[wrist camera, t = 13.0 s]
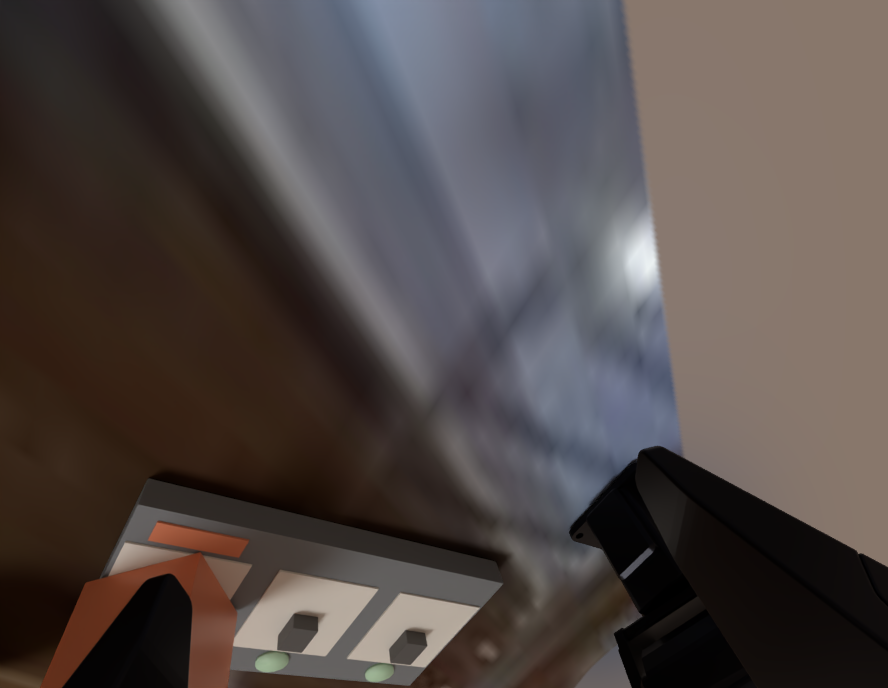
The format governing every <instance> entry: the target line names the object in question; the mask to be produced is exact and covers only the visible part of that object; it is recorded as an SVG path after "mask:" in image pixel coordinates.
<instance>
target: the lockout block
mask: <svg viewBox="0 0 888 688" xmlns="http://www.w3.org/2000/svg"><path fill="white" fill-rule="evenodd" d="M167 573H171V574H173V575H174V576H175V577H176V578H177V579H178V581H179V582H180V584H181V585H182V587H183V588H184V590H185V591H186V592H187V594H188V595H189V597H190V599H191V602H192V608H193V613H192V630H191V647H190V664H189V681H188V688H227V687H228V680H229V673H230V665H231V658H232V651H233V643H234V636H235V628H236V621H237V614H238V613H237V611H236V610H235V608H234V606H233V605H232V603H231V601H230V600H229V598H228V596H227V595H226V593H225V592H224V590H223V588H222V587H221V585H220V583H219V582H218V580H217V578H216V577H215V575H214V573H213V572H212V570H211V569H210V567H209V565H208V564H207V562H206V560H205V559H204V557H203V555H202V554H201V552H199V553H195V554H192V555H188V556H184V557H180V558H177V559H173V560H169V561H165V562H161V563H158V564H154V565H150V566H146V567H143V568H139V569H135V570H131V571H128V572H124V573H120V574H116V575H112V576H109V577H105V578H101V579H97V580H94V581H90V582H86V583H85V585H84V587H83V590H82V592H81V594H80V596H79V599H78V601H77V603H76V606H75V608H74V610H73V613H72V615H71V617H70V620H69V622H68V624H67V627H66V629H65V631H64V633H63V636H62V638H61V640H60V643H59V645H58V647H57V650H56V652H55V654H54V657H53V659H52V661H51V664H50V666H49V668H48V670H47V673H46V675H45V677H44V680H43V682H42V684H41V687H40V688H62V687H63V685H64V684H65V683H66V681H67V680H68V679H69V678H70V676H71V675H72V674H73V672H74V671H75V670H76V669H77V667H78V666H79V665H80V663H81V662H82V661H83V660H84V658H85V657H86V656H87V654H88V653H89V652H90V651H91V649H92V648H93V647H94V645H95V644H96V643H97V642H98V640H99V639H100V638H101V636H102V635H103V634H104V633H105V631H106V630H107V629H108V627H109V626H110V625H111V624H112V622H113V621H114V620H115V618H116V617H117V616H118V615H119V613H120V612H121V611H122V609H123V608H124V607H125V606H126V604H127V603H128V602H129V600H130V599H131V598H132V597H133V595H134V594H135V593H136V591H137V590H138V589H139V588H140V586H141V585H142V584H143V583H144V582H145V581H146V580H147V579H149V578H152V577H156V576H160V575H163V574H167Z"/></svg>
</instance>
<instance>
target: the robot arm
mask: <svg viewBox="0 0 888 688" xmlns="http://www.w3.org/2000/svg"><path fill="white" fill-rule="evenodd" d="M569 534H570V536H571V538H572V540H573V541H576V542H579V543H583V544H586V545H589V546H593V547H596V548H600V549H602V550H603V551H604V553H605V555H606V557H607V559H608V560H609V562H610V564H611V566H612V567H613V569H614V571H615V573H616V574H617V576H618V578H619V579H620V580H621V582H622V583H623V585H624V587H625V589H626V590H627V592H628V594H629V596H630V597H631V599H632V601H633V603H634V604H635V606H636V608H637V610H638V611H639V613H640V614H642V616H643V617H641V618H640V619H638V620H637V621H635V622H634V623H632V624H631V625H629V626H628V627H626V628H625V629H624V628H621V629H620V630H618V631H617V632H615V633H614V636H615V638H616V641H617V644H618V647H619V654H620V657H621V659H622V662H623V665H624V667H625V670H626V673H627V676H628V679H629V681H630V684H631V687H632V688H888V567H886V566H885V565H883V564H881V563H879V562H877V561H875V560H874V559H872V558H870V557H868V556H866V555H864V554H861V553H860V554H858V552H857V551H856V550H854V549H853V548H851V547H849V546H847V545H845V544H843V543H841V542H840V541H838V540H836V539H834V538H832V537H830V536H828V535H827V534H825V533H823V532H821V531H819V530H817V529H815V528H813V527H811V526H810V525H808V524H806V523H804V522H802V521H800V520H798V519H797V518H795V517H793V516H791V515H789V514H787V513H785V512H784V511H782V510H779V509H778V508H776V507H774V506H772V505H770V504H768V503H767V502H765V501H763V500H761V499H759V498H757V497H756V496H754V495H752V494H750V493H748V492H746V491H744V490H742V489H741V488H739V487H737V486H735V485H733V484H731V483H729V482H727V481H725V480H724V479H722V478H720V477H718V476H716V475H714V474H712V473H711V472H709V471H707V470H705V469H703V468H701V467H699V466H698V465H696V464H694V463H692V462H690V461H688V460H686V459H685V458H683V457H681V456H679V455H677V454H675V453H673V452H671V451H670V450H668V449H666V448H664V447H661V446H654V447H650V448H646V449H643V450H641V451H640V452H639V454H638V460H637V462H636V463H634V464H632V465H631V466H630V467H629V468H628V469H627V470H626V471H625V472H624V473H623V474H622V475H621V476H620V477H619V478H618V479H617V481H616V482H615V483H614V484H613V485H612V486H611V487H610V488H609V489H608V490H607V491H606V492H605V493H604V494H603V495H602V496H601V498H600V499H599V500H598V501H597V502H596V503H595V504H594V505H593V506H592V507H591V508H590V509H589V510H588V511H587V512H586V513H585V515H584V516H583V517H582V518H581V519H580V520H579V521H578V522H577V523H576V524H575V525H574V526H573V527H572V528H571V530H570V531H569ZM192 613H193V608H192V602H191V599H190V597H189V595H188V594H187V592H186V591H185V590H184V588H183V587H182V585H181V584H180V582H179V581H178V579H177V578H176V577H175V576H174V575H173V574H171V573H167V574H163V575H160V576H156V577H152V578H149V579H147V580H146V581H145V582H144V583H143V584H142V585H141V586H140V588H139V589H138V590H137V591H136V593H135V594H134V595H133V597H132V598H131V599H130V600H129V602H128V603H127V604H126V606H125V607H124V608H123V609H122V611H121V612H120V613H119V615H118V616H117V617H116V618H115V620H114V621H113V622H112V624H111V625H110V626H109V627H108V629H107V630H106V631H105V633H104V634H103V635H102V636H101V638H100V639H99V640H98V642H97V643H96V644H95V645H94V647H93V648H92V649H91V651H90V652H89V653H88V654H87V656H86V657H85V658H84V660H83V661H82V662H81V663H80V665H79V666H78V667H77V669H76V670H75V671H74V672H73V674H72V675H71V676H70V678H69V679H68V680H67V681H66V683H65V684H64V685H63V687H62V688H188V681H189V664H190V647H191V630H192Z"/></svg>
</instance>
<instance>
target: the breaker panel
mask: <svg viewBox="0 0 888 688" xmlns="http://www.w3.org/2000/svg"><path fill="white" fill-rule="evenodd" d="M199 552H201V554H202V555H203V557H204V559H205V560H206V562H207V564H208V565H209V567H210V569H211V570H212V572H213V573H214V575H215V577H216V578H217V580H218V582H219V583H220V585H221V587H222V588H223V590H224V592H225V593H226V595H227V596H228V598H229V600H230V601H231V603H232V605H233V606H234V608H235V610H236V611H237V613H238V614H237V621H236V628H235V636H234V643H233V651H232V658H231V665H230V669H231V670H242V671H253V672H264V673H275V674H286V675H297V676H308V677H319V678H330V679H341V680H352V681H363V682H374V683H385V684H396V685H408V686H409V685H410V684H411V683H412V682H413V681H414V680H415V679H416V678H417V677H418V676H419V675H420V673H421V672H422V671H423V670H424V669H425V668H426V667H427V666H428V665H429V664H430V663H431V662H432V660H433V659H434V658H435V657H436V656H437V655H438V654H439V653H440V652H441V651H442V650H443V649H444V647H445V646H446V645H447V644H448V643H449V642H450V641H451V640H452V639H453V638H454V637H455V636H456V634H457V633H458V632H459V631H460V630H461V629H462V628H463V627H464V626H465V625H466V624H467V623H468V622H469V620H470V619H471V618H472V617H473V616H474V615H475V614H476V613H477V612H478V611H479V610H480V609H481V607H482V606H483V605H484V604H485V603H486V602H487V601H488V600H489V599H490V598H491V597H492V596H493V594H494V593H495V592H496V591H497V590H498V589H499V588H500V587H501V586H502V585H503V581H502V578H501V575H500V572H499V569H498V566H497V563H496V562H495V561H491V560H487V559H483V558H479V557H474V556H470V555H466V554H462V553H458V552H454V551H449V550H445V549H441V548H437V547H433V546H429V545H424V544H420V543H416V542H412V541H408V540H403V539H399V538H395V537H391V536H387V535H383V534H378V533H374V532H370V531H366V530H362V529H358V528H353V527H349V526H345V525H341V524H337V523H333V522H328V521H324V520H320V519H316V518H312V517H308V516H303V515H299V514H295V513H291V512H287V511H282V510H278V509H274V508H270V507H266V506H262V505H257V504H253V503H249V502H245V501H241V500H237V499H232V498H228V497H224V496H220V495H216V494H212V493H207V492H203V491H199V490H195V489H191V488H187V487H182V486H178V485H174V484H170V483H166V482H161V481H157V480H153V479H149V478H148V480H147V482H146V484H145V486H144V488H143V490H142V492H141V494H140V496H139V498H138V500H137V502H136V504H135V506H134V508H133V511H132V513H131V515H130V517H129V519H128V521H127V523H126V525H125V527H124V529H123V531H122V533H121V535H120V537H119V539H118V541H117V543H116V545H115V547H114V550H113V552H112V554H111V556H110V558H109V560H108V562H107V564H106V566H105V568H104V570H103V572H102V574H101V576H100V578H99V579H101V578H105V577H109V576H112V575H116V574H120V573H124V572H128V571H131V570H135V569H139V568H143V567H146V566H150V565H154V564H158V563H161V562H165V561H169V560H173V559H177V558H180V557H184V556H188V555H192V554H195V553H199Z"/></svg>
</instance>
